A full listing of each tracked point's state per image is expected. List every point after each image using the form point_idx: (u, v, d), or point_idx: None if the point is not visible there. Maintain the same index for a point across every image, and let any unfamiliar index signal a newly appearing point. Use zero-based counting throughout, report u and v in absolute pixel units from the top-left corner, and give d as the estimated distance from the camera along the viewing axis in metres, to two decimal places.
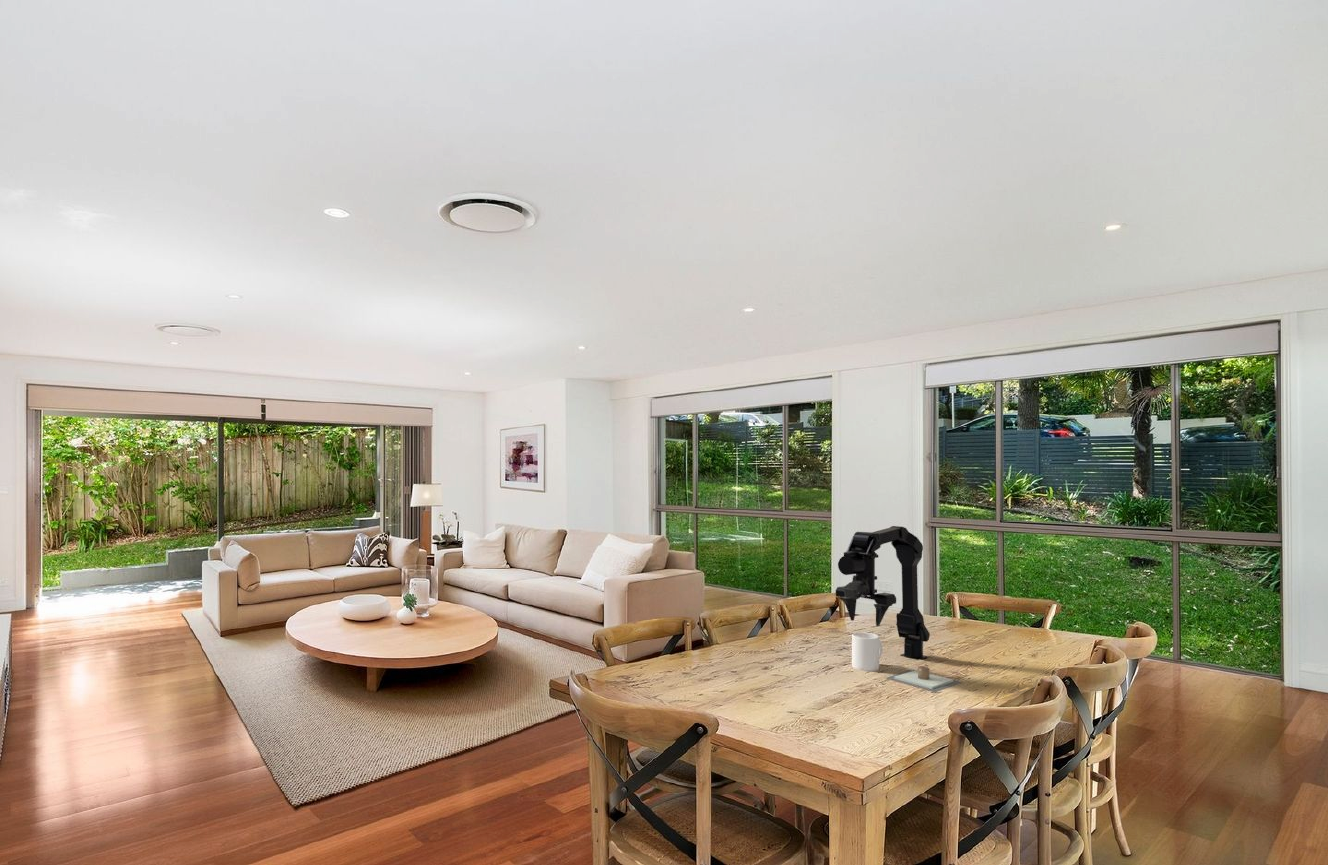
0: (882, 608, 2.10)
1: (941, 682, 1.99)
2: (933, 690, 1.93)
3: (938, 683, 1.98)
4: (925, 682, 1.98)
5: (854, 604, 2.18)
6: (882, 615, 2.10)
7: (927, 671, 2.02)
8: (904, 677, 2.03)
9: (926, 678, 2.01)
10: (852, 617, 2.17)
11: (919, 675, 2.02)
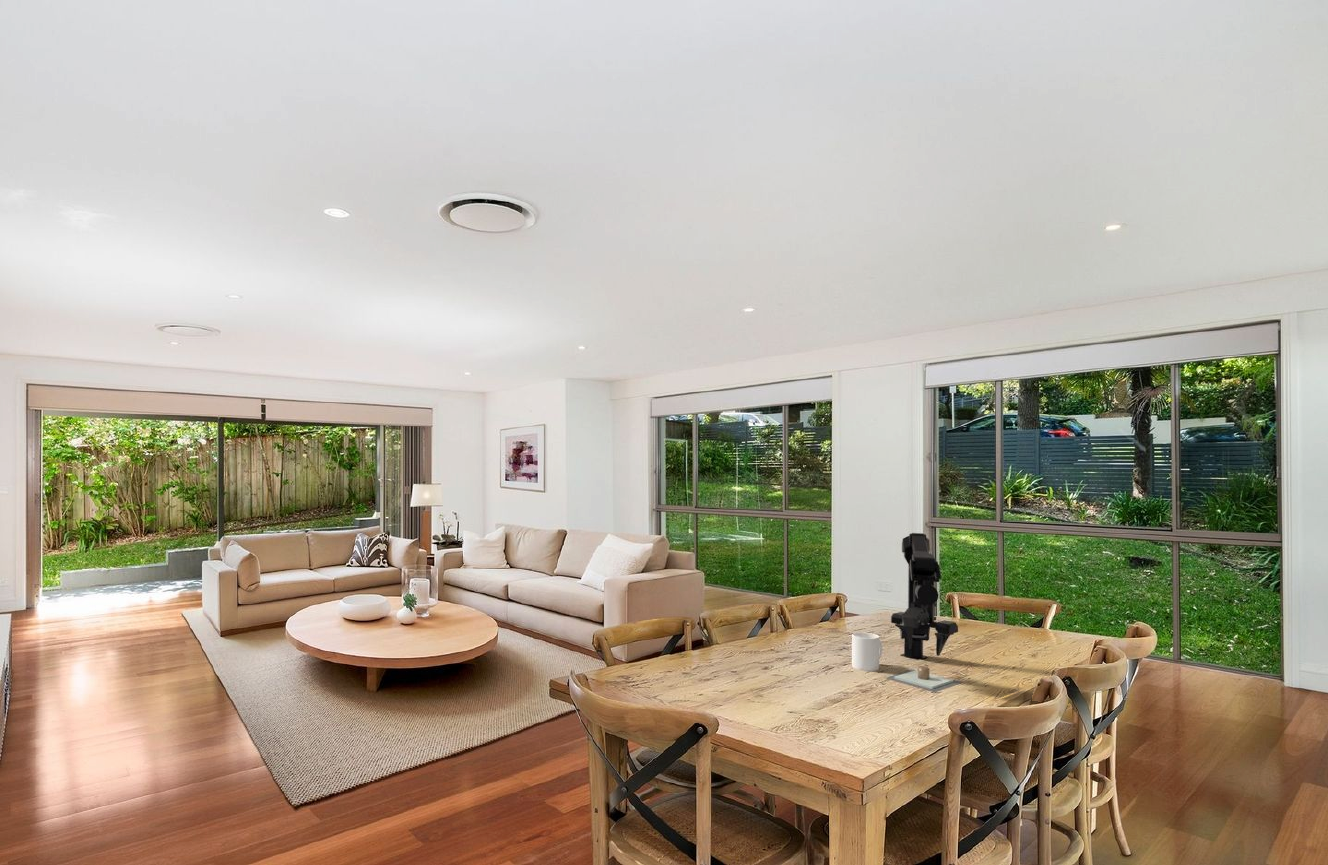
0: (943, 637, 2.00)
1: (941, 682, 1.99)
2: (933, 690, 1.93)
3: (938, 683, 1.98)
4: (925, 682, 1.98)
5: (911, 631, 2.08)
6: (943, 644, 2.00)
7: (927, 671, 2.02)
8: (904, 677, 2.03)
9: (926, 678, 2.01)
10: (909, 645, 2.07)
11: (919, 675, 2.02)
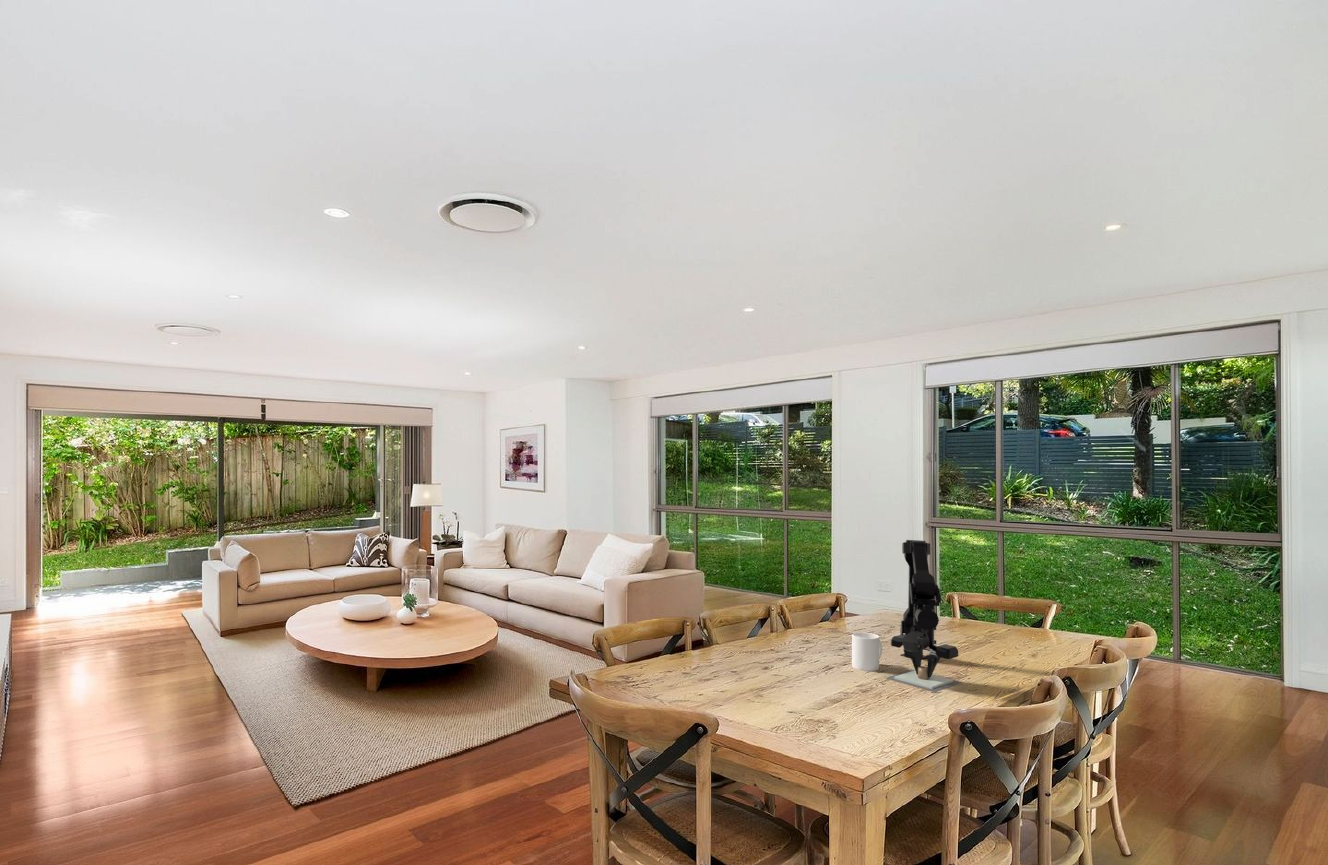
0: (934, 659, 2.01)
1: (941, 682, 1.99)
2: (933, 690, 1.93)
3: (938, 683, 1.98)
4: (925, 682, 1.98)
5: (919, 657, 2.06)
6: (934, 666, 2.01)
7: None
8: (904, 677, 2.03)
9: (926, 678, 2.01)
10: None
11: (919, 675, 2.02)
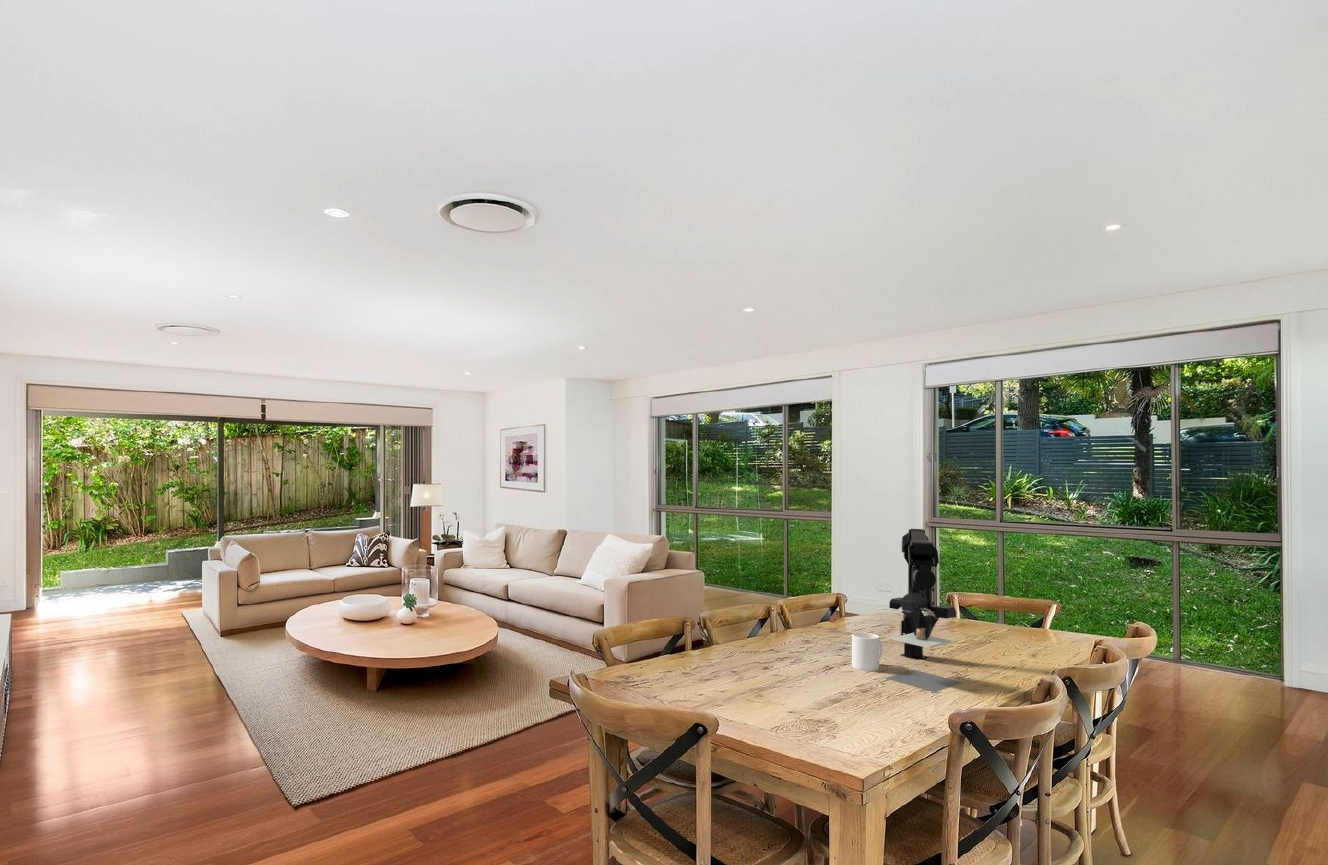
0: (932, 620, 2.02)
1: (939, 642, 2.00)
2: (933, 690, 1.93)
3: (936, 643, 1.99)
4: (923, 642, 2.00)
5: (918, 618, 2.07)
6: (932, 626, 2.03)
7: None
8: (902, 638, 2.04)
9: (924, 639, 2.03)
10: None
11: (917, 636, 2.04)
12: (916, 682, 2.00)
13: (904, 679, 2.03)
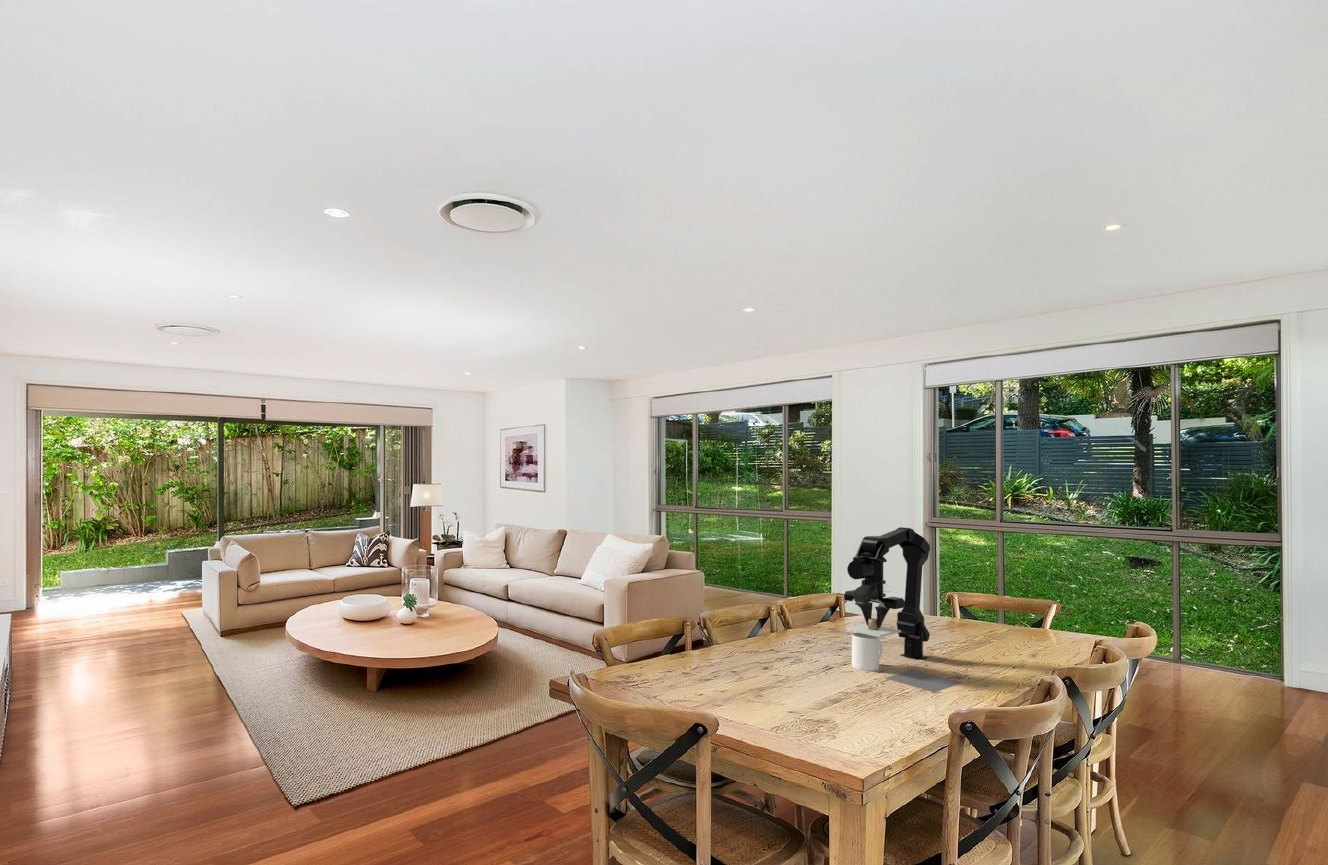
0: (883, 610, 2.14)
1: (889, 632, 2.12)
2: (933, 690, 1.93)
3: (886, 632, 2.11)
4: (874, 632, 2.11)
5: (870, 609, 2.19)
6: (883, 617, 2.14)
7: (876, 622, 2.14)
8: (855, 628, 2.16)
9: (875, 629, 2.14)
10: None
11: (869, 626, 2.15)
12: (916, 682, 2.00)
13: (904, 679, 2.03)
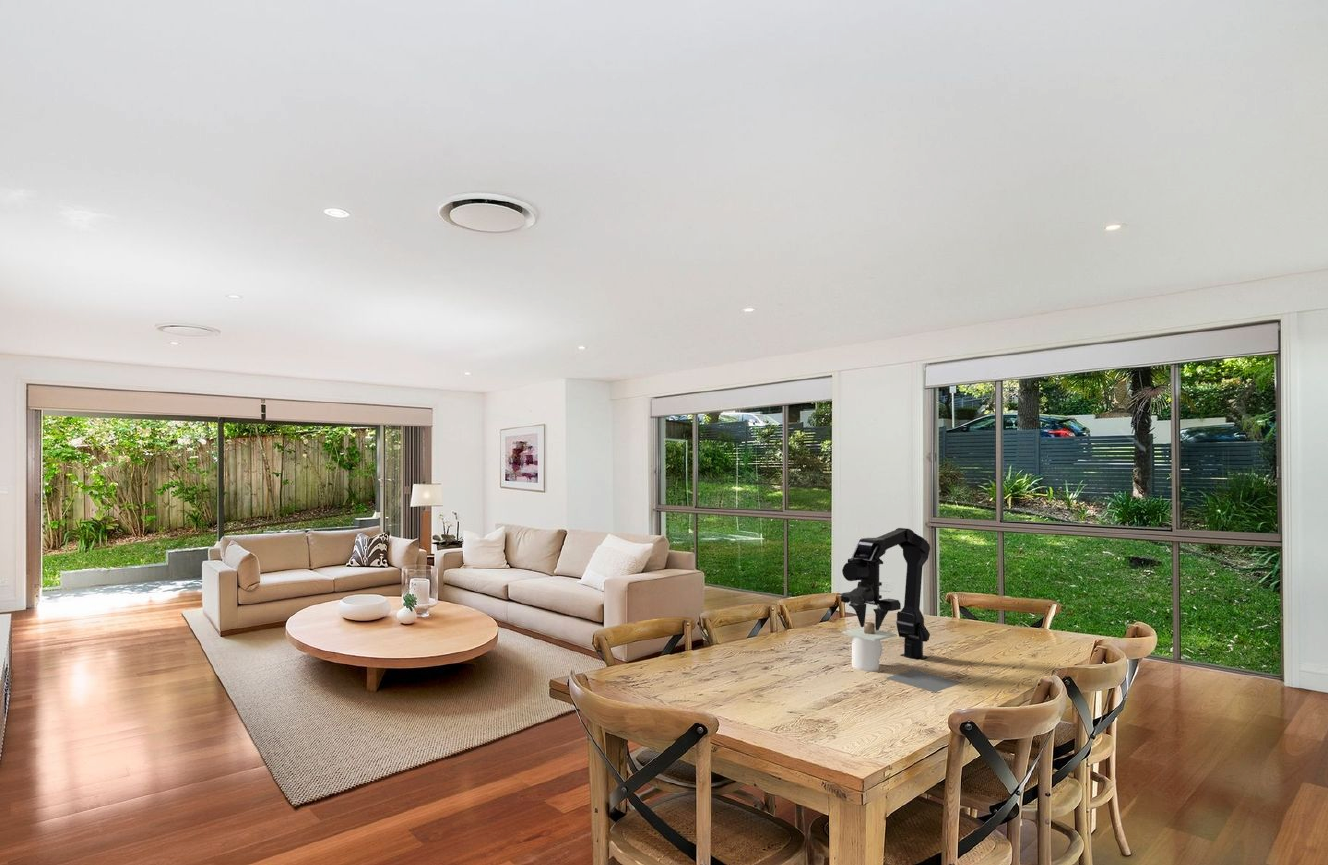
0: (881, 613, 2.15)
1: (884, 636, 2.13)
2: (933, 690, 1.93)
3: (881, 636, 2.12)
4: (869, 636, 2.12)
5: (864, 611, 2.20)
6: (882, 619, 2.15)
7: (872, 626, 2.15)
8: (851, 632, 2.17)
9: (871, 632, 2.15)
10: (862, 624, 2.19)
11: (865, 630, 2.16)
12: (916, 682, 2.00)
13: (904, 679, 2.03)
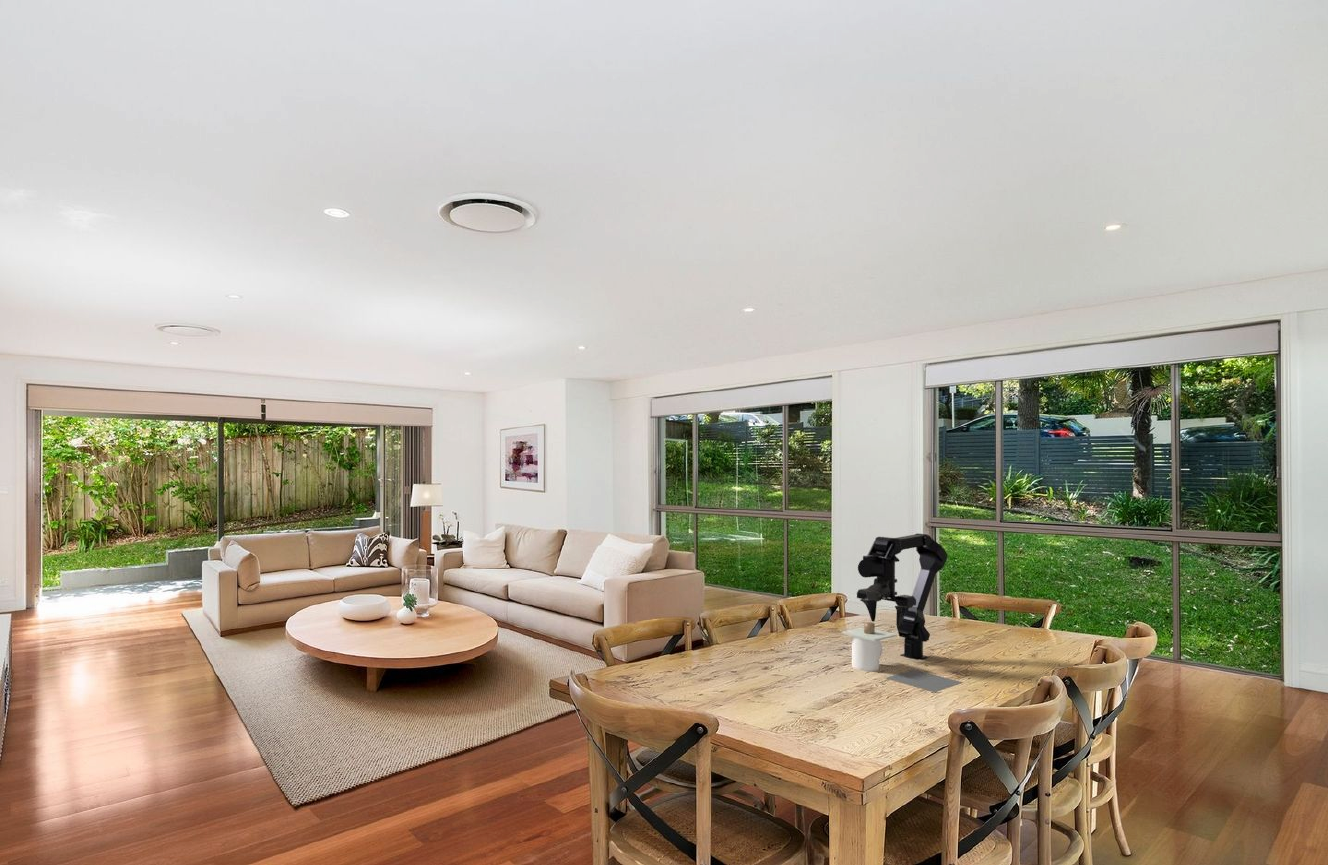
0: (902, 610, 2.20)
1: (884, 636, 2.13)
2: (933, 690, 1.93)
3: (881, 636, 2.12)
4: (869, 636, 2.12)
5: (875, 606, 2.28)
6: (903, 616, 2.20)
7: (872, 626, 2.15)
8: (851, 632, 2.17)
9: (871, 633, 2.15)
10: (873, 618, 2.27)
11: (865, 630, 2.16)
12: (916, 682, 2.00)
13: (904, 679, 2.03)
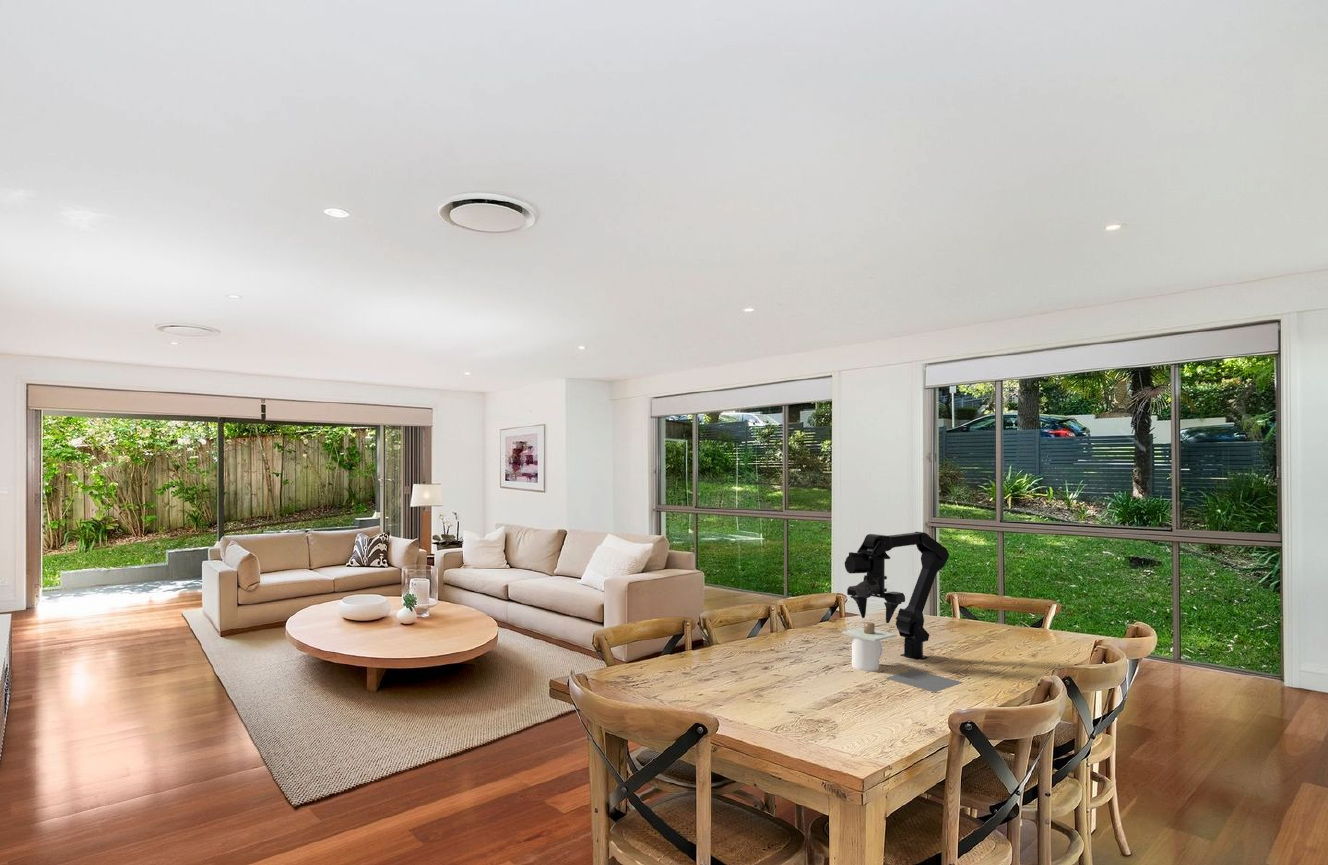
0: (892, 606, 2.22)
1: (884, 636, 2.13)
2: (933, 690, 1.93)
3: (881, 637, 2.12)
4: (869, 636, 2.12)
5: (865, 602, 2.31)
6: (892, 612, 2.22)
7: (872, 626, 2.15)
8: (851, 632, 2.17)
9: (871, 633, 2.15)
10: (863, 615, 2.29)
11: (865, 630, 2.16)
12: (916, 682, 2.00)
13: (904, 679, 2.03)
